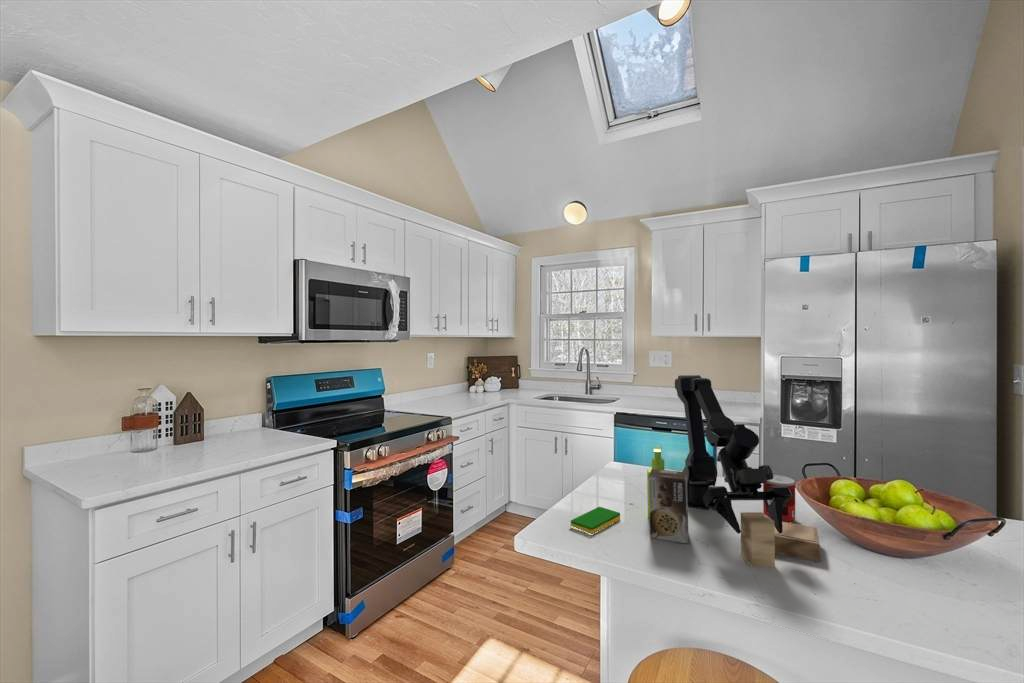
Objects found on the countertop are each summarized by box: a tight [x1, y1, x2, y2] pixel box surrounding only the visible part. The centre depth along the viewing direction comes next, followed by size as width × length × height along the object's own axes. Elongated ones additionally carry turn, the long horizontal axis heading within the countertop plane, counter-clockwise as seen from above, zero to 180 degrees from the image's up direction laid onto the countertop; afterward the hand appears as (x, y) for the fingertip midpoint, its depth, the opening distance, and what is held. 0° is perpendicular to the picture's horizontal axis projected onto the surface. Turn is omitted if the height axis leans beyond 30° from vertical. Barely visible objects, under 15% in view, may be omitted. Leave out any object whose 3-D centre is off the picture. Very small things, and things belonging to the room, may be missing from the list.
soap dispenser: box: [646, 445, 666, 519], centre depth 125 cm, size 6×7×20 cm
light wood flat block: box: [774, 522, 821, 563], centre depth 107 cm, size 10×10×4 cm
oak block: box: [740, 511, 776, 567], centre depth 101 cm, size 5×5×10 cm
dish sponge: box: [570, 506, 621, 534], centre depth 122 cm, size 7×14×2 cm, turn 134°
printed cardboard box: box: [648, 468, 690, 544], centre depth 114 cm, size 9×6×16 cm
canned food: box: [762, 474, 796, 523], centre depth 124 cm, size 8×8×11 cm
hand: (760, 532), depth 100 cm, fingers open, 9 cm apart
